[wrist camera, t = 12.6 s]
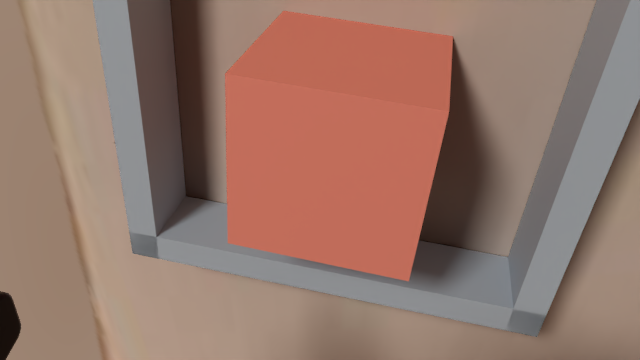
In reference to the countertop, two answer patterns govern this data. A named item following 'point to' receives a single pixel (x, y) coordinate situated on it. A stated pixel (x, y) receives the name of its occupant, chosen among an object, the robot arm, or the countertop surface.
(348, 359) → the countertop surface
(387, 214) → the cube
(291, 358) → the countertop surface
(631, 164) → the countertop surface
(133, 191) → the pocket
